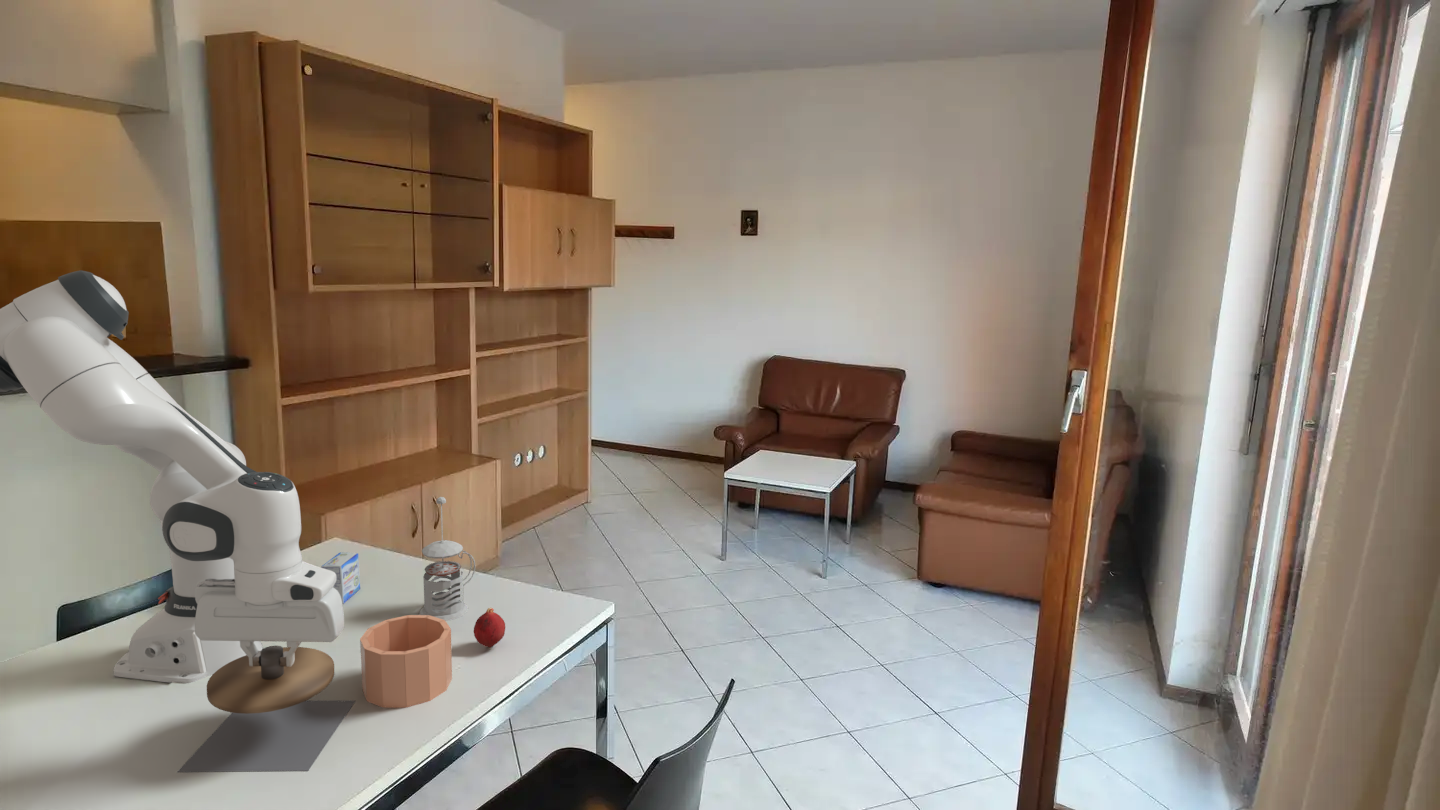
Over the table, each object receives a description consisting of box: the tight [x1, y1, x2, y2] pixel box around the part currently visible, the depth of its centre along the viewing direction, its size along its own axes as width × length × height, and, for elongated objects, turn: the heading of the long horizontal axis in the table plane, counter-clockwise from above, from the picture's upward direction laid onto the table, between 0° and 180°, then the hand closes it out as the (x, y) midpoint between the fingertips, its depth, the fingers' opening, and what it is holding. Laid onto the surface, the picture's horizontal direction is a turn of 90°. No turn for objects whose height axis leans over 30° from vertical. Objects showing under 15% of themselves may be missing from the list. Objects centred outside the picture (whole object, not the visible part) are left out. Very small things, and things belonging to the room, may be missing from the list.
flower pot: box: [359, 614, 453, 709], centre depth 135 cm, size 14×14×10 cm
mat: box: [176, 700, 356, 773], centre depth 121 cm, size 18×18×1 cm
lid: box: [206, 645, 335, 714], centre depth 120 cm, size 17×17×5 cm
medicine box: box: [320, 551, 361, 605], centre depth 169 cm, size 8×4×9 cm, turn 179°
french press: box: [418, 496, 476, 622], centre depth 163 cm, size 10×12×25 cm
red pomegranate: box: [473, 607, 506, 649], centre depth 150 cm, size 6×6×8 cm
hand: (272, 664), depth 120 cm, fingers closed on lid, 3 cm apart
